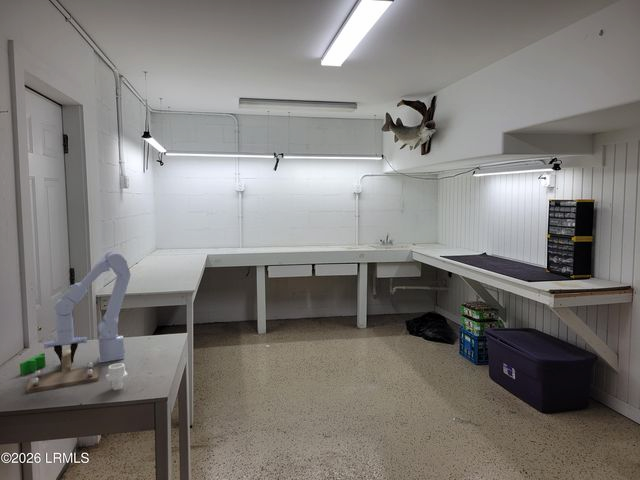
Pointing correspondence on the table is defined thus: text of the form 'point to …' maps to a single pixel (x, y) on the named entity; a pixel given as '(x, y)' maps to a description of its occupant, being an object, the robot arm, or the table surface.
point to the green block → (33, 364)
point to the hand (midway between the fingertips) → (67, 362)
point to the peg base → (62, 378)
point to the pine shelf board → (66, 360)
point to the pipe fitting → (116, 375)
